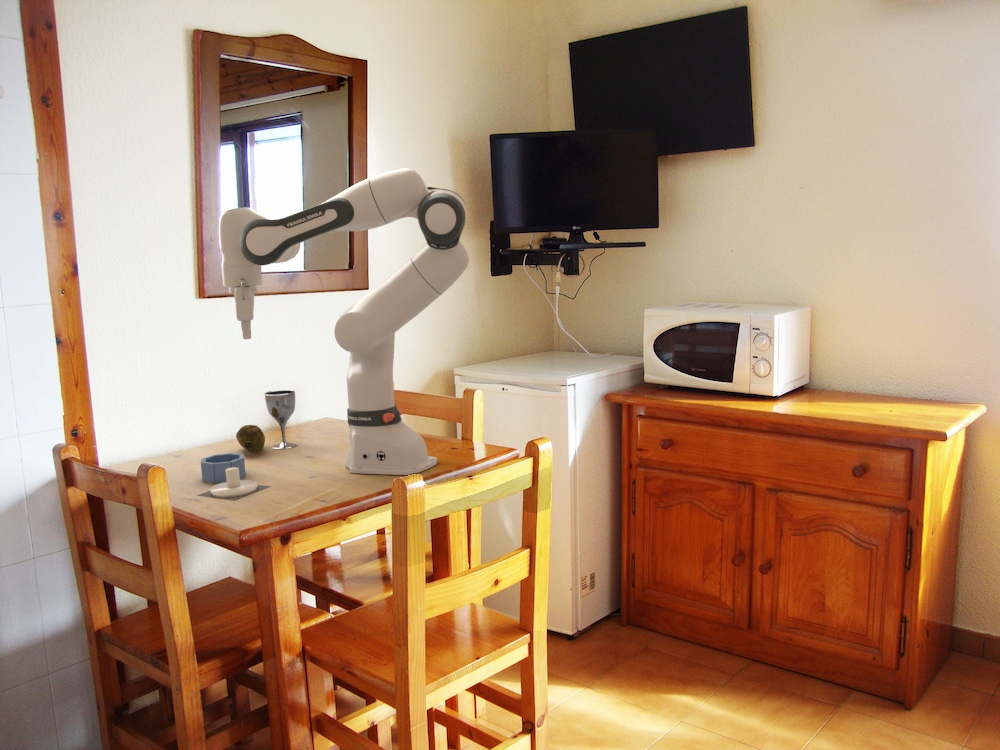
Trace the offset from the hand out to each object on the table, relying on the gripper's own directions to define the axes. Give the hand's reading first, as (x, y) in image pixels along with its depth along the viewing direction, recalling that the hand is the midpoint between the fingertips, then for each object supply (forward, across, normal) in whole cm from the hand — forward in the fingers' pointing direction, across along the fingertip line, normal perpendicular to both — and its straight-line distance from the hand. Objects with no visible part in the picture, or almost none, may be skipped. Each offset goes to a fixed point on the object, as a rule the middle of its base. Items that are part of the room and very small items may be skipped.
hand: (247, 337), depth 197 cm
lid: (+32, -17, +5) cm, 37 cm away
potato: (+33, +22, +1) cm, 40 cm away
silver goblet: (+33, +25, -7) cm, 42 cm away
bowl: (+33, -4, +8) cm, 34 cm away
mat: (+33, -17, +5) cm, 37 cm away
